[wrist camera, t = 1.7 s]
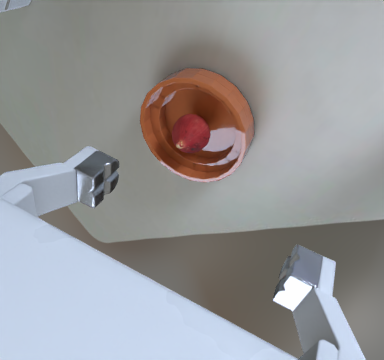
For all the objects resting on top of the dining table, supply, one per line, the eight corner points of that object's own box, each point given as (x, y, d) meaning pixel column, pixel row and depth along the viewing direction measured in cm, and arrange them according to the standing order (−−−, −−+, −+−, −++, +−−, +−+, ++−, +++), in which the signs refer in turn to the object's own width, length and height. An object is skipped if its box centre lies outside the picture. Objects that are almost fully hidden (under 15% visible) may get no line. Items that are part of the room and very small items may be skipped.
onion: (224, 125, 51) (205, 151, 45) (203, 145, 55) (182, 171, 49) (197, 98, 50) (174, 121, 44) (178, 120, 54) (154, 144, 48)
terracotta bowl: (137, 85, 54) (122, 96, 50) (231, 51, 44) (219, 61, 41) (180, 172, 61) (169, 186, 58) (268, 159, 51) (261, 175, 48)
